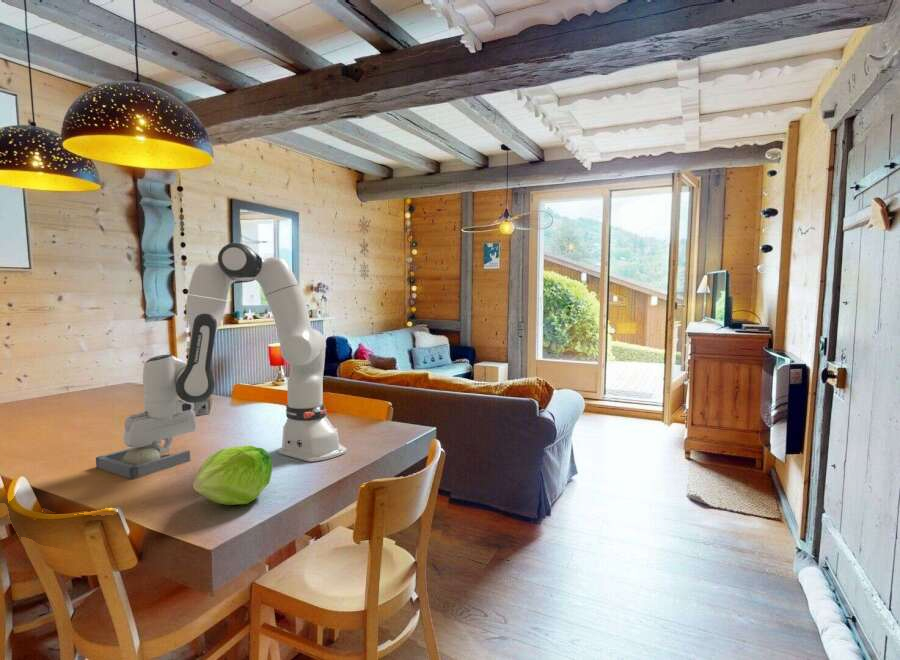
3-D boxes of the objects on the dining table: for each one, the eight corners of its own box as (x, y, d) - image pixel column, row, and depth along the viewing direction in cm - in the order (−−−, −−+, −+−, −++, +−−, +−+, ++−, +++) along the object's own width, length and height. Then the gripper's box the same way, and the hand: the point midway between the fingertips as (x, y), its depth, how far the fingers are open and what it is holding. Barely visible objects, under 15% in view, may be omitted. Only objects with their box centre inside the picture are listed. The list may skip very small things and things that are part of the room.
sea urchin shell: (154, 449, 146) (159, 435, 141) (160, 472, 142) (165, 459, 138) (118, 456, 139) (121, 441, 135) (122, 481, 136) (126, 466, 131)
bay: (154, 450, 150) (153, 441, 150) (190, 460, 142) (189, 450, 142) (96, 467, 136) (95, 457, 136) (132, 479, 128) (132, 468, 127)
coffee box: (196, 410, 203) (195, 372, 201) (213, 409, 205) (212, 372, 203) (192, 415, 194) (191, 376, 193) (209, 414, 196) (208, 376, 195)
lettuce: (175, 516, 108) (173, 455, 110) (249, 497, 125) (246, 444, 128) (217, 514, 101) (214, 449, 103) (289, 494, 119) (285, 439, 121)
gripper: (131, 417, 132) (132, 465, 133) (198, 403, 150) (200, 445, 151) (118, 414, 135) (120, 461, 136) (186, 400, 153) (187, 442, 154)
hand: (162, 453), depth 144 cm, fingers closed
